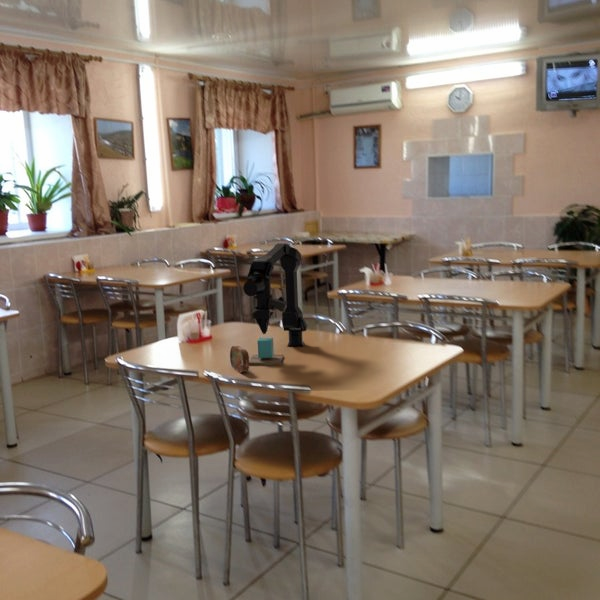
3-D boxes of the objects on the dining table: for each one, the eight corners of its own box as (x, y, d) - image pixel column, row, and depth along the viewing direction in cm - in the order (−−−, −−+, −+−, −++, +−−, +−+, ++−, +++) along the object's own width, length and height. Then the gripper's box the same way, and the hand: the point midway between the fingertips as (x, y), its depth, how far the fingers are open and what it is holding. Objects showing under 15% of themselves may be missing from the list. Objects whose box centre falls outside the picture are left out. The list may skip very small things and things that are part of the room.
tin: (229, 366, 261) (228, 344, 260) (237, 364, 262) (236, 343, 261) (242, 375, 247) (241, 352, 246) (251, 374, 249) (250, 351, 247)
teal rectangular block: (260, 354, 268) (259, 337, 267) (273, 354, 268) (273, 337, 267) (258, 357, 263) (257, 340, 262) (272, 357, 263) (271, 340, 262)
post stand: (252, 357, 272) (252, 337, 271) (283, 357, 271) (282, 336, 270) (248, 365, 260) (247, 344, 259) (280, 365, 259) (279, 344, 258)
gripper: (281, 295, 252) (283, 338, 254) (287, 287, 270) (288, 327, 272) (251, 296, 253) (253, 338, 255) (258, 288, 271) (260, 327, 273)
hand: (265, 332), depth 264 cm, fingers open, 3 cm apart
